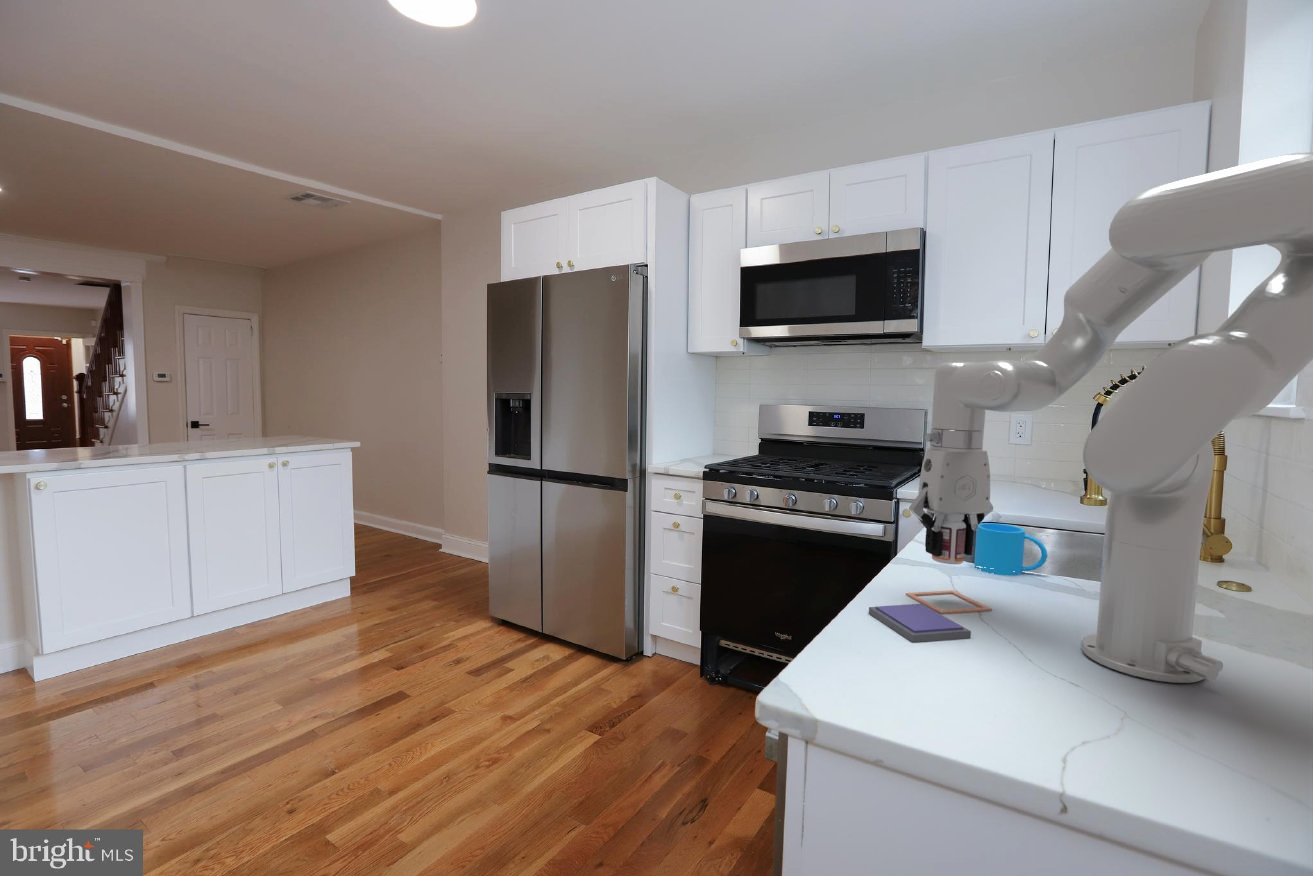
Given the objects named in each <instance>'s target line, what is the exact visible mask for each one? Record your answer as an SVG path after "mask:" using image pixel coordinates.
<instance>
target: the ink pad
mask: <svg viewBox="0 0 1313 876" xmlns="http://www.w3.org/2000/svg"><path fill="white" fill-rule="evenodd" d="M868 614H869V615H870V616H871V617H873V618H874V619H876V620H878V621H879V622H880V623H882V624H884V625H886V626H887V627H889V628H890V629H892V630H893V631H894V632H896V633H898V634H899V635H900V636H902V637H904V638H905V639H907V640H909V642H911V643H922V642H935V641H948V640H949V641H950V640H963V639H971V635H972V631H971V630H970V629H968V628H966V627H965V626H963V625H961V624H959V623H958V622H955V621H953V620H951V619H950V618H948V617H946V616H944V614H940V613H938V612H936V611H934V610H933V609H931V608H929V607H927V606H925V605H923V604H922V603H912V604H911V603H909V604H898V605H897V604H896V605H893V604H892V605H882V606H881V605H879V606H869V607H868Z"/></svg>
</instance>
